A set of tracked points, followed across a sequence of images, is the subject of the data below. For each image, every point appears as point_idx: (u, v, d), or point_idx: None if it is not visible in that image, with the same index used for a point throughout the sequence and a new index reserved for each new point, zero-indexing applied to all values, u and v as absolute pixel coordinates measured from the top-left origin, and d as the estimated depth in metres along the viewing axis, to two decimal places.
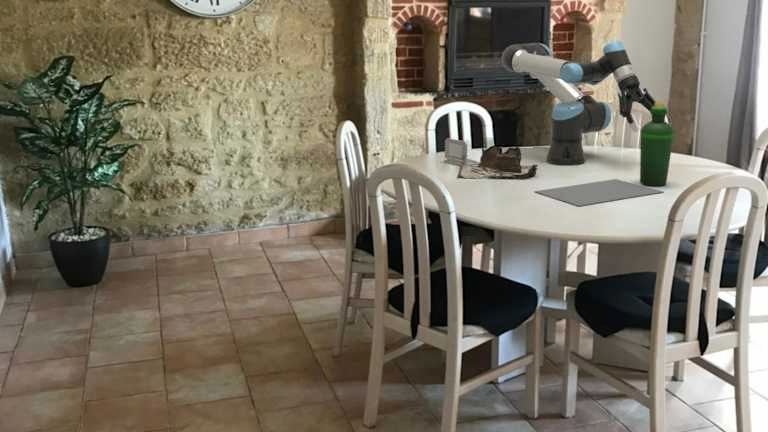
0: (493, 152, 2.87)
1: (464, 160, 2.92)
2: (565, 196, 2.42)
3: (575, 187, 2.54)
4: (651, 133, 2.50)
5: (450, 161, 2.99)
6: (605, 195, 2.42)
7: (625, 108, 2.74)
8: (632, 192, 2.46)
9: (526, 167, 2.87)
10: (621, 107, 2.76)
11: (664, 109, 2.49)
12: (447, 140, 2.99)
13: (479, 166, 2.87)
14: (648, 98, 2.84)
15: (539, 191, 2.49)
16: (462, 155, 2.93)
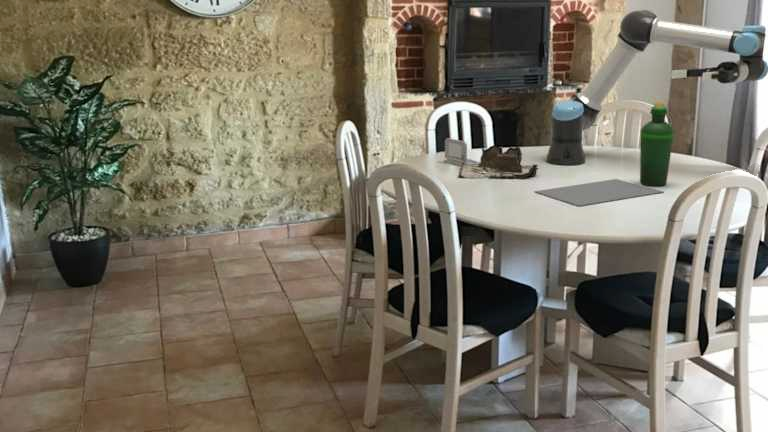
0: (493, 152, 2.87)
1: (464, 160, 2.92)
2: (565, 196, 2.42)
3: (575, 187, 2.54)
4: (651, 133, 2.50)
5: (450, 161, 2.99)
6: (605, 195, 2.42)
7: None
8: (632, 192, 2.46)
9: (526, 167, 2.87)
10: (730, 75, 2.51)
11: (664, 109, 2.49)
12: (447, 140, 2.99)
13: (479, 166, 2.87)
14: None
15: (539, 191, 2.49)
16: (462, 155, 2.93)
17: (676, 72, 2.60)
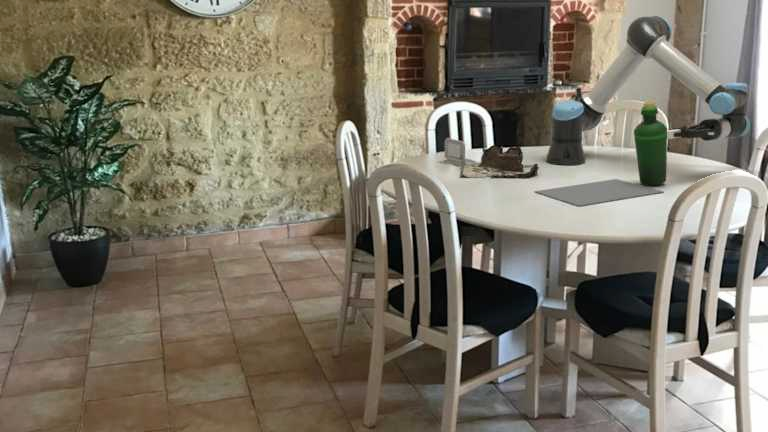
0: (493, 152, 2.88)
1: (462, 160, 2.92)
2: (565, 196, 2.42)
3: (575, 187, 2.54)
4: (644, 135, 2.49)
5: (449, 161, 3.00)
6: (605, 195, 2.42)
7: (691, 137, 2.55)
8: (632, 192, 2.46)
9: (527, 166, 2.89)
10: (695, 133, 2.55)
11: (654, 109, 2.47)
12: (446, 140, 2.99)
13: (480, 166, 2.88)
14: None
15: (539, 191, 2.49)
16: (460, 155, 2.93)
17: None
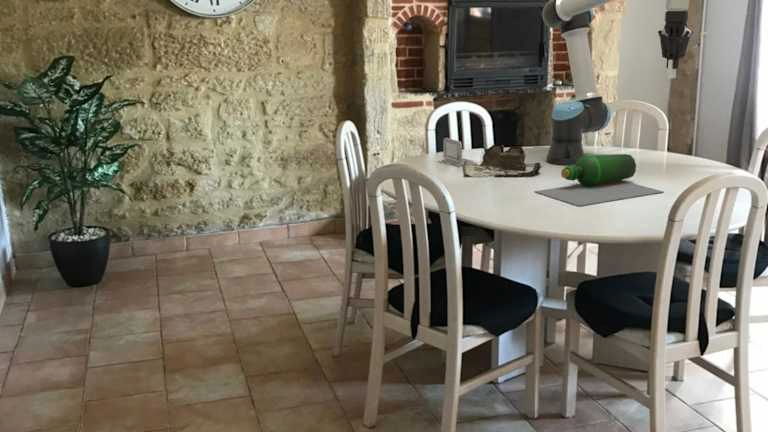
0: (494, 151, 2.90)
1: (459, 160, 2.93)
2: (565, 196, 2.42)
3: (575, 187, 2.54)
4: (596, 167, 2.50)
5: (447, 161, 3.00)
6: (605, 195, 2.42)
7: None
8: (632, 192, 2.46)
9: (527, 165, 2.91)
10: (683, 51, 2.62)
11: (569, 166, 2.51)
12: (445, 140, 3.00)
13: (482, 165, 2.90)
14: (666, 40, 2.68)
15: (539, 191, 2.49)
16: (457, 155, 2.93)
17: None
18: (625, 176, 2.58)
